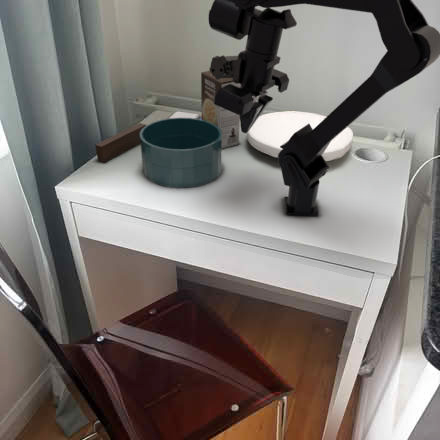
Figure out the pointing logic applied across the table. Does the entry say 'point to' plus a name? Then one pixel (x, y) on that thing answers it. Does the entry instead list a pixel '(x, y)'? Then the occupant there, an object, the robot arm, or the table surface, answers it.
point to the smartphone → (184, 115)
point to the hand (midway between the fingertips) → (244, 132)
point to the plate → (289, 124)
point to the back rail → (119, 143)
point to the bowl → (181, 152)
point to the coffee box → (219, 109)
